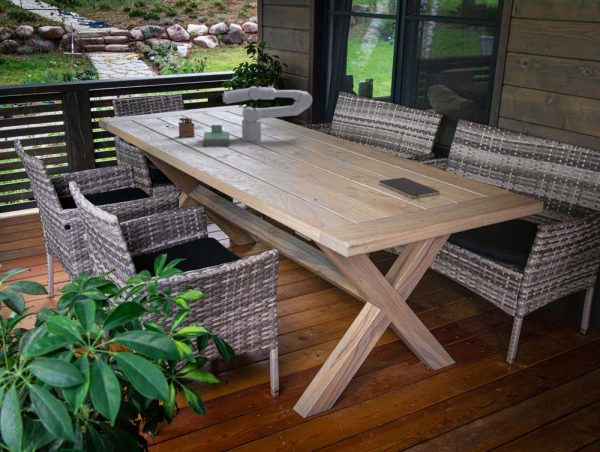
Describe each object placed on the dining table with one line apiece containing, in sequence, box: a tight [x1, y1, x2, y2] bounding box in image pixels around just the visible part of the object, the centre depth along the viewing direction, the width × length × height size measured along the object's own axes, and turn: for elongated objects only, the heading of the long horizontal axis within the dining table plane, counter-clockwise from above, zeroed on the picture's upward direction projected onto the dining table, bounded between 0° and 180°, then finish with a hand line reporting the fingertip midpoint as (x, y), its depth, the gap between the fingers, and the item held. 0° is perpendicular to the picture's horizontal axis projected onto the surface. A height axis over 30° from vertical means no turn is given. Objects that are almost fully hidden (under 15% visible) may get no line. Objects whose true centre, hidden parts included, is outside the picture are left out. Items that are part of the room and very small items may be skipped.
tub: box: [203, 139, 230, 147], centre depth 308 cm, size 12×14×4 cm
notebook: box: [378, 176, 440, 198], centre depth 244 cm, size 13×2×21 cm
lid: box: [203, 124, 230, 141], centre depth 307 cm, size 12×14×5 cm
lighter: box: [178, 117, 196, 139], centre depth 319 cm, size 8×3×10 cm, turn 84°
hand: (207, 100), depth 310 cm, fingers open, 7 cm apart
